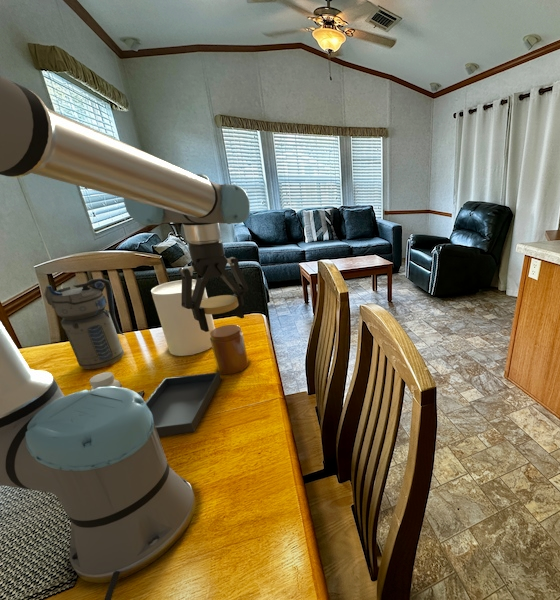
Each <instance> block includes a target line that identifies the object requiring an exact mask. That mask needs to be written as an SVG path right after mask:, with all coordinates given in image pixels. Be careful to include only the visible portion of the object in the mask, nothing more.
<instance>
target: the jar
mask: <svg viewBox="0 0 560 600" xmlns="http://www.w3.org/2000/svg"><path fill="white" fill-rule="evenodd" d="M210 335H211V338H210V341H211V345H212V347H211V348H212V352H213V356H214V360H215V364H216V368H217V371H218V372H220V375H221V374H222V375H233V374H237V373H240V372H242V371H244V370H245V369H246V368H247V367H248V366H249V363H250V362H249V358H248V353H247V347H246V343H245V339H244V333H243V331H242V328H241V326H240V325H237V324H226V325H221V326H218V327H215V329H214V330H212V331H211V333H210Z"/></svg>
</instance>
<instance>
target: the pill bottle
mask: <svg viewBox="0 0 560 600" xmlns="http://www.w3.org/2000/svg"><path fill="white" fill-rule="evenodd" d="M89 383H90V386H91V388H90V389H89V391H92V390H94V389H95V388H97V387H109V386H113V387H123V386H122V383H121V382H120V380H118V379H115V375H114V373H113V372H111V371H105V372H101V373H98V374H96V375H95V374H94V375H93V376H92V377H90V379H89Z"/></svg>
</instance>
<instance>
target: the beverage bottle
mask: <svg viewBox="0 0 560 600" xmlns="http://www.w3.org/2000/svg"><path fill="white" fill-rule="evenodd" d="M72 286H73V287H74V288H71V287H70V286H67V287H62V288H60V289H56V290H54V289H53V286H52V285H51V284H50V285H46V286H45V290H44V293H43V295H44V297H45V300H46V302H47V304H48V305H50V306H51V308H52V309H54V310H55V313H56V315H57V316H58V317H60V318H62V319H61V320H60V324H61V327H62V329H63V330H64V333H65V336H66V337H67V340H68V342H69V344H70V347H71V349H72V351H73V354H74V356H75V358H76V362H77V364H78V366H79V367H80V368H82V369H84V370H96V369H101V368H105V367H108V366H110V365H112V364H115V363H116V362H118V361H120V360H121V359H122V358H123V357H124V354H125V351H124V348H123V346H122V343H121V341H120V340H121V339H120V338H119V337H120V336H119V335H122V336H125V334H124V333H123V332H121V330H120V327H119V323H118V320H117V318H116V313H115V304H114V296H113V288H112V285H111V281H110V280H108V279H105V278H101V277H97V278H93V279H89V280H88V281H86V282H83V283H78V284H74V285H72ZM90 286H92V287H90ZM105 289H106V296H105V295H104V293H103V292H104V290H105ZM106 298H107V299H106ZM107 305H108V310H107V309H105V308H106V306H107Z"/></svg>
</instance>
